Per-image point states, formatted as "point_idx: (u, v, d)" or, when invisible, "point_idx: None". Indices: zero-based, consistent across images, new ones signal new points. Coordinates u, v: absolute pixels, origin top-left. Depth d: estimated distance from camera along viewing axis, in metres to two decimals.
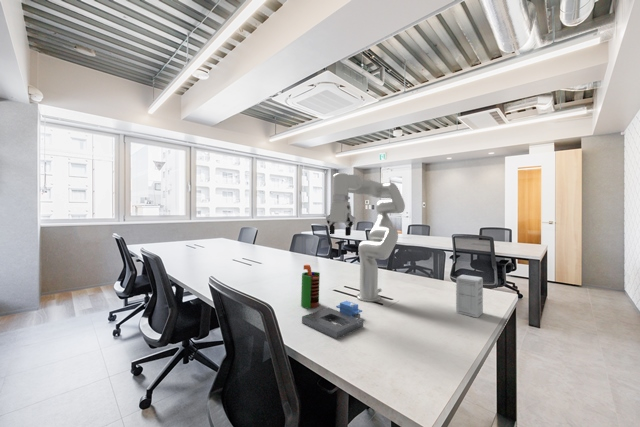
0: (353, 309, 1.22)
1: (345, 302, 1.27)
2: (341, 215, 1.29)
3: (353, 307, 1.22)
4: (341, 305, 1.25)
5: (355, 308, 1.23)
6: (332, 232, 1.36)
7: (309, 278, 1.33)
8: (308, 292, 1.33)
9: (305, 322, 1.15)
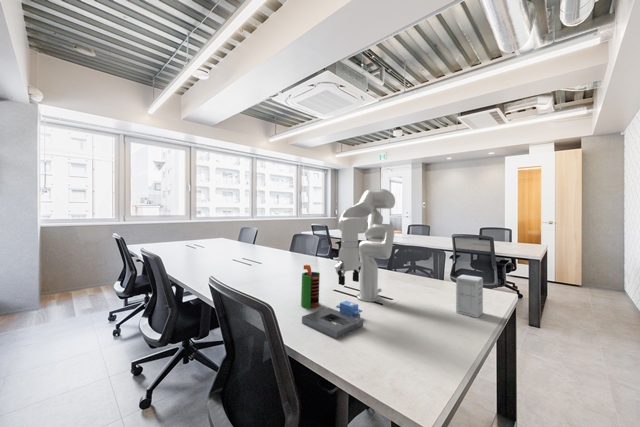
0: (353, 309, 1.22)
1: (345, 302, 1.27)
2: (356, 262, 1.25)
3: (353, 307, 1.22)
4: (341, 305, 1.25)
5: (355, 308, 1.23)
6: None
7: (309, 278, 1.33)
8: (308, 292, 1.33)
9: (305, 322, 1.15)
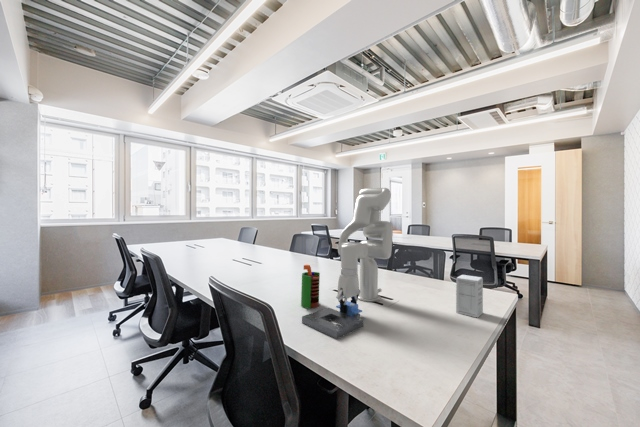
0: (353, 309, 1.22)
1: None
2: (356, 288, 1.25)
3: (353, 307, 1.22)
4: None
5: (355, 308, 1.23)
6: None
7: (309, 278, 1.33)
8: (308, 292, 1.33)
9: (305, 322, 1.15)
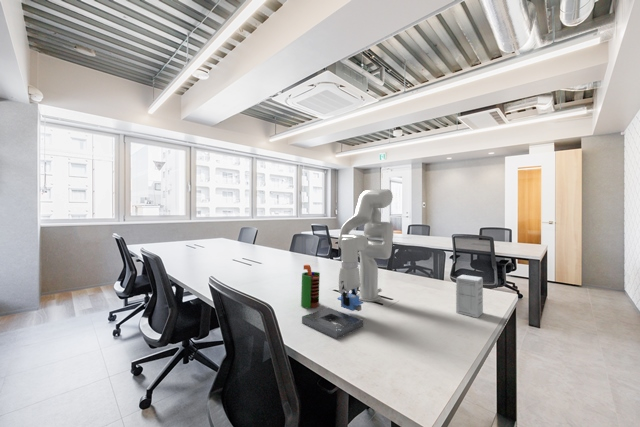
0: (354, 301, 1.23)
1: None
2: (357, 281, 1.26)
3: (354, 299, 1.23)
4: (342, 297, 1.26)
5: (356, 300, 1.24)
6: None
7: (309, 278, 1.33)
8: (308, 292, 1.33)
9: (305, 322, 1.15)
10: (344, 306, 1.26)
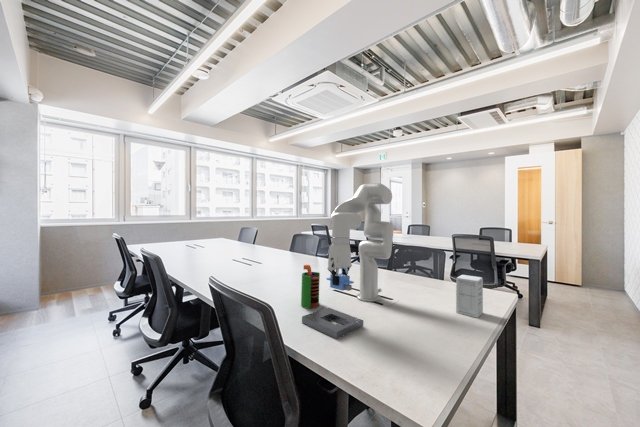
0: (344, 280, 1.15)
1: None
2: (348, 259, 1.18)
3: (344, 278, 1.15)
4: (332, 277, 1.18)
5: (346, 279, 1.16)
6: None
7: (309, 278, 1.33)
8: (308, 292, 1.33)
9: (305, 322, 1.15)
10: (333, 286, 1.17)
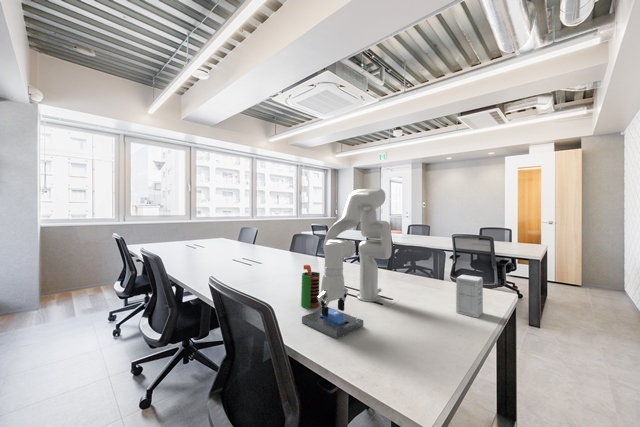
0: (337, 318, 1.11)
1: (329, 310, 1.16)
2: (341, 290, 1.14)
3: (337, 316, 1.11)
4: None
5: (339, 317, 1.12)
6: None
7: (309, 278, 1.33)
8: (308, 292, 1.33)
9: (305, 322, 1.15)
10: None
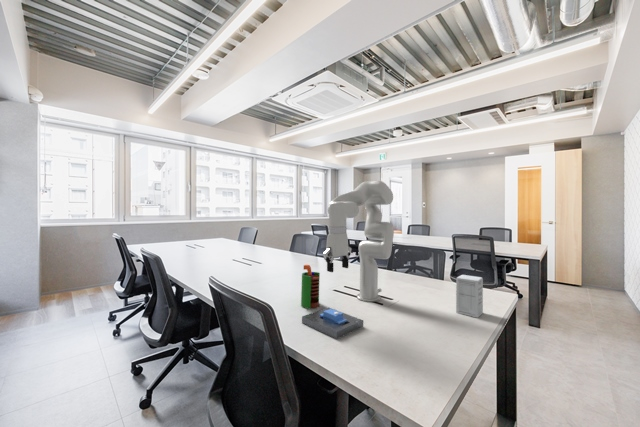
0: (337, 318, 1.11)
1: (329, 310, 1.16)
2: (345, 248, 1.20)
3: (337, 316, 1.11)
4: (324, 314, 1.15)
5: (339, 317, 1.12)
6: None
7: (309, 278, 1.33)
8: (308, 292, 1.33)
9: (305, 322, 1.15)
10: None
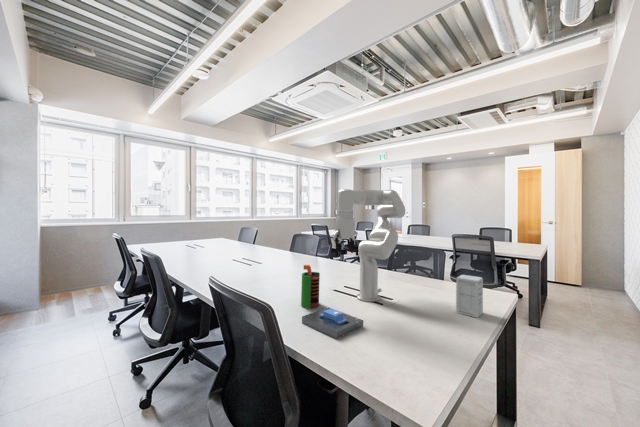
0: (337, 318, 1.11)
1: (329, 310, 1.16)
2: (352, 231, 1.33)
3: (337, 316, 1.11)
4: (324, 314, 1.15)
5: (339, 317, 1.12)
6: None
7: (309, 278, 1.33)
8: (308, 292, 1.33)
9: (305, 322, 1.15)
10: None
